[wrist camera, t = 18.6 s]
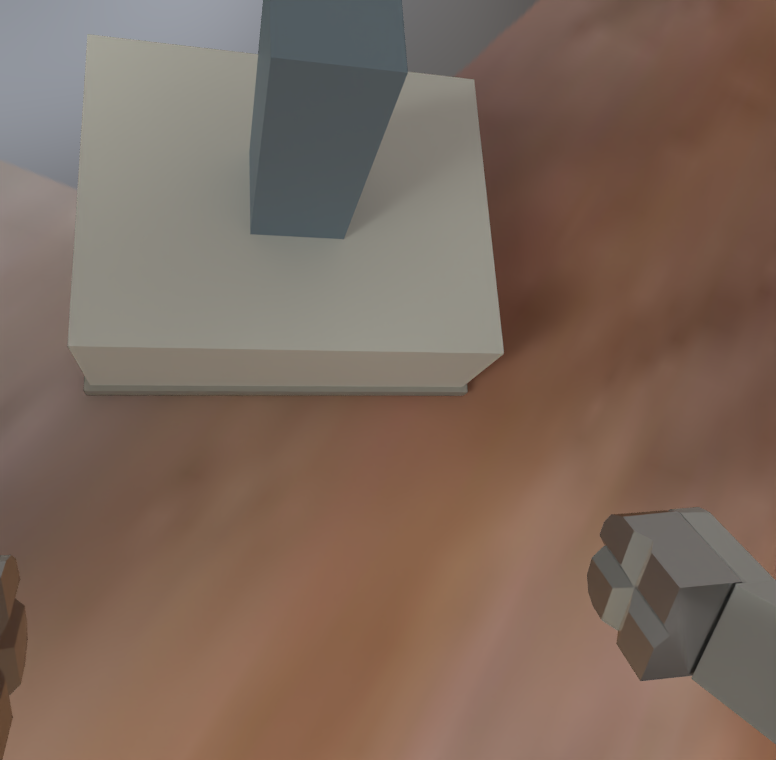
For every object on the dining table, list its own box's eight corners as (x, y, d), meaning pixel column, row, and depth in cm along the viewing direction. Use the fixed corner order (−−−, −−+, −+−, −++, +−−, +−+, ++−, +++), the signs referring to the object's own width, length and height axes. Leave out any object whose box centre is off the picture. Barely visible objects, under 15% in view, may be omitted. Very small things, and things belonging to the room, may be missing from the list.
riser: (86, 394, 37) (59, 352, 30) (101, 117, 41) (81, 28, 35) (463, 395, 42) (510, 359, 35) (440, 148, 46) (478, 75, 40)
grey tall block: (250, 234, 34) (270, 57, 22) (249, 151, 35) (268, -56, 24) (343, 239, 35) (407, 72, 24) (339, 158, 36) (398, -37, 25)
